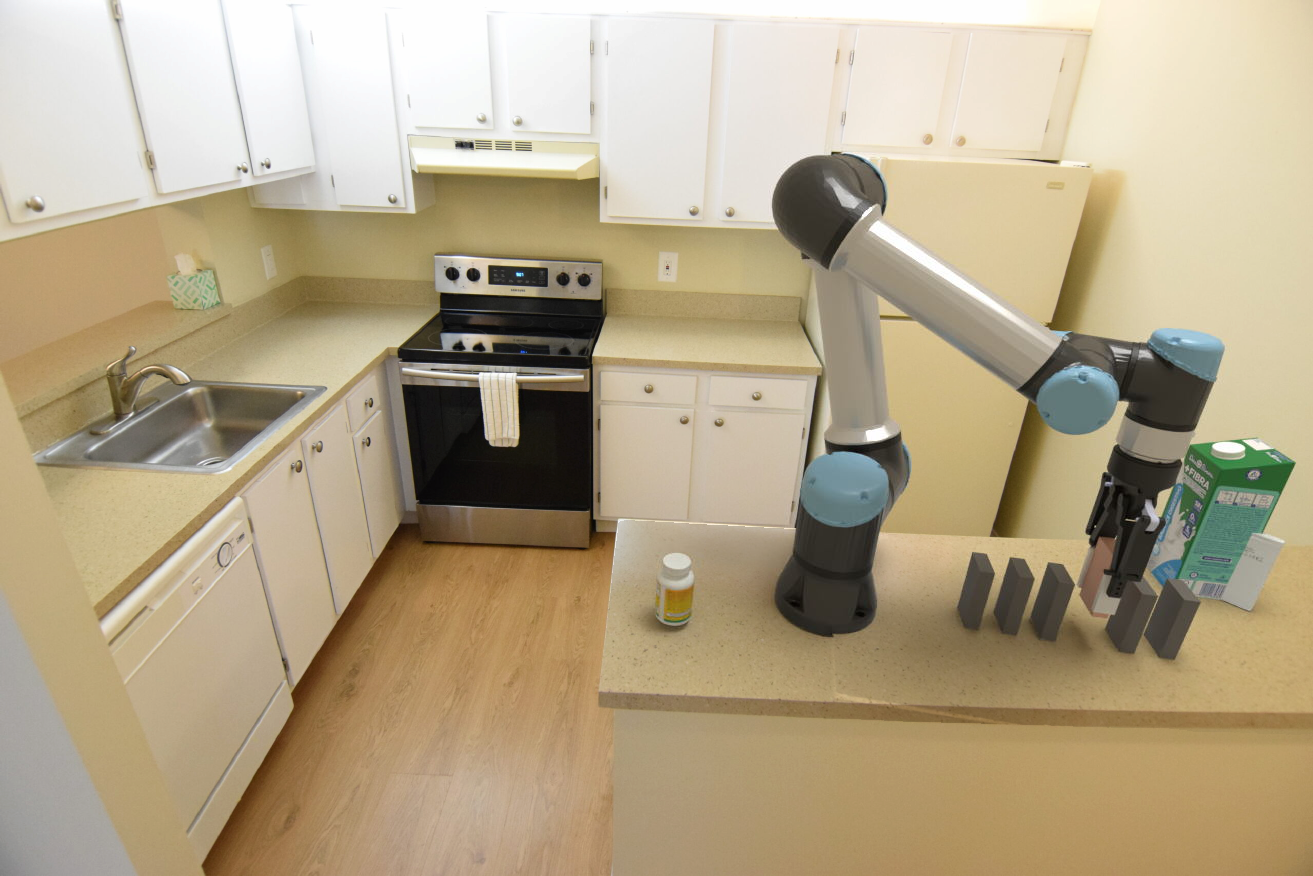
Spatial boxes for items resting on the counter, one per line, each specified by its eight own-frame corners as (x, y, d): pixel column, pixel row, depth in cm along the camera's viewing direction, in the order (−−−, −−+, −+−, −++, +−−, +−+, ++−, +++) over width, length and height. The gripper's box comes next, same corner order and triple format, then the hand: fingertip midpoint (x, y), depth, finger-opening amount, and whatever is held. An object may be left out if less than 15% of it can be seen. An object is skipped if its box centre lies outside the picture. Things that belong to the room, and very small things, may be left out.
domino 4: (1091, 616, 96) (1113, 556, 92) (1079, 594, 101) (1099, 536, 96) (1107, 618, 96) (1130, 558, 92) (1094, 596, 100) (1114, 538, 96)
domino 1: (964, 628, 101) (980, 571, 97) (957, 606, 105) (972, 551, 101) (978, 630, 101) (995, 573, 96) (971, 608, 105) (986, 553, 101)
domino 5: (1118, 651, 98) (1142, 593, 93) (1105, 628, 102) (1126, 572, 98) (1134, 653, 97) (1158, 596, 93) (1119, 630, 102) (1142, 574, 98)
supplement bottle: (647, 614, 101) (649, 559, 97) (672, 598, 104) (675, 545, 100) (674, 632, 98) (677, 576, 94) (699, 615, 101) (703, 561, 97)
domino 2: (1001, 633, 100) (1019, 576, 96) (993, 612, 105) (1010, 557, 100) (1016, 635, 100) (1034, 579, 96) (1007, 614, 104) (1024, 558, 100)
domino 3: (1040, 639, 99) (1059, 582, 95) (1030, 617, 104) (1048, 562, 100) (1055, 641, 99) (1075, 584, 95) (1044, 619, 103) (1063, 564, 99)
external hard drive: (1191, 582, 113) (1220, 516, 108) (1252, 608, 107) (1286, 540, 102) (1188, 585, 112) (1216, 520, 107) (1250, 612, 106) (1283, 544, 101)
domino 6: (1159, 657, 97) (1184, 599, 93) (1143, 634, 101) (1166, 578, 97) (1174, 660, 96) (1200, 602, 92) (1158, 636, 101) (1182, 580, 97)
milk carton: (1141, 563, 118) (1194, 430, 108) (1199, 570, 117) (1258, 436, 107) (1168, 595, 110) (1228, 455, 100) (1230, 603, 109) (1297, 461, 99)
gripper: (1219, 487, 79) (1152, 646, 89) (1149, 427, 96) (1099, 567, 105) (1147, 479, 81) (1089, 636, 90) (1090, 421, 97) (1046, 560, 106)
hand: (1095, 599), depth 98 cm, fingers closed on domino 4, 5 cm apart
